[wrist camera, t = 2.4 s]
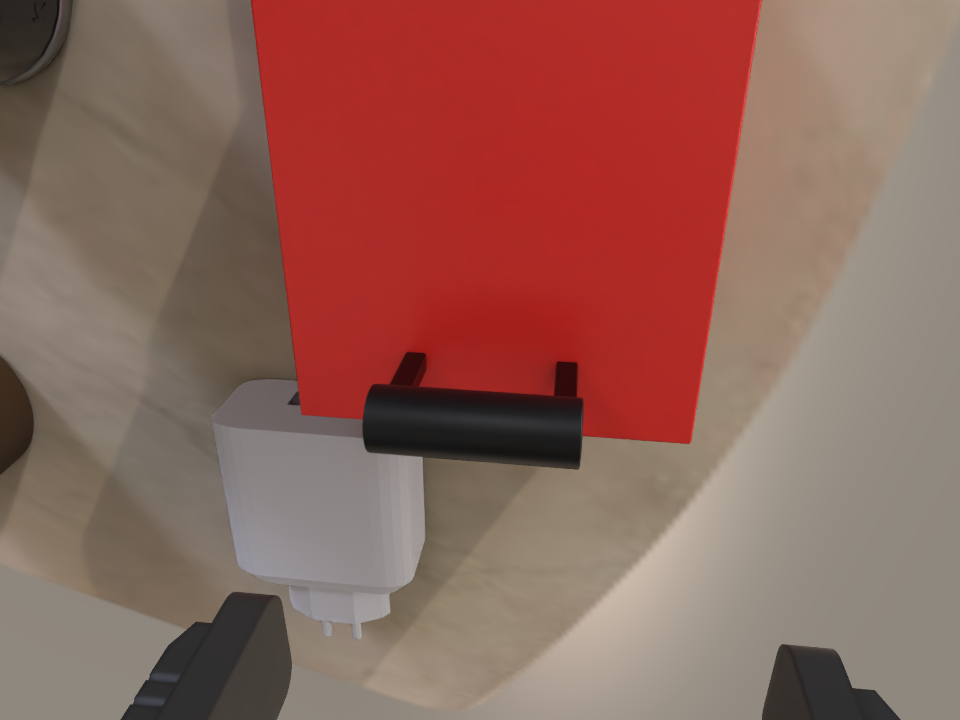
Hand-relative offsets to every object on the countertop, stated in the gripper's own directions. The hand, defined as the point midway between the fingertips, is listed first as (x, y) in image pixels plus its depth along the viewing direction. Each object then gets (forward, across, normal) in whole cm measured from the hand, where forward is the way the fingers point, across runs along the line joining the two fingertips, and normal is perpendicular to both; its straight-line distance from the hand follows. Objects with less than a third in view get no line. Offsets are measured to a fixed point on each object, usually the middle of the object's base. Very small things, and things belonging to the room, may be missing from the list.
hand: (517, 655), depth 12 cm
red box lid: (+14, +2, -4) cm, 14 cm away
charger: (+23, +11, +15) cm, 29 cm away
